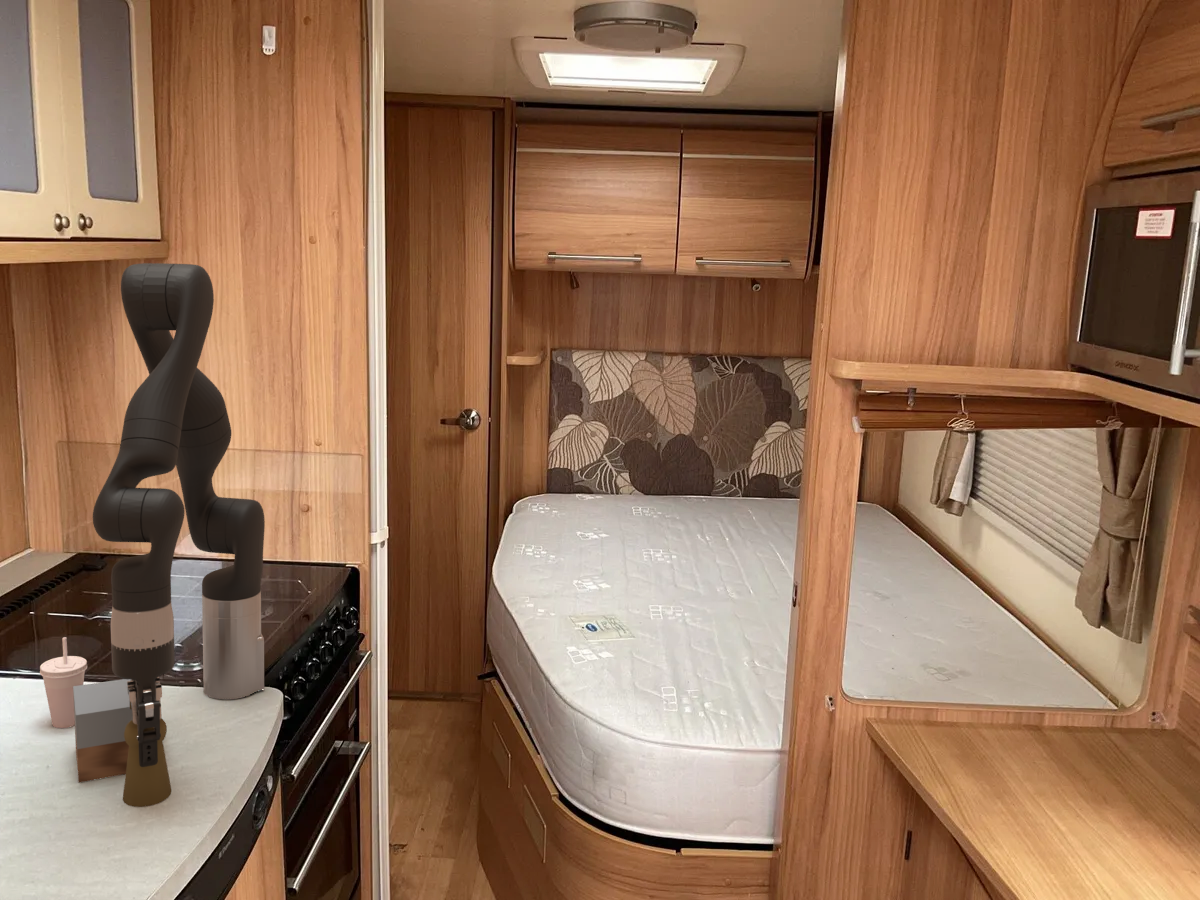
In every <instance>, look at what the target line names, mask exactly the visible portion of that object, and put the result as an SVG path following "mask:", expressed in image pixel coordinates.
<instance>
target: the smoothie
mask: <svg viewBox="0 0 1200 900" xmlns="http://www.w3.org/2000/svg"><path fill="white" fill-rule="evenodd" d="M67 639H68V638H67V637H65V636H64V637H62V639H61V640H62V656H58V657H53V658H51V659H49V660H46V661H44V662H43V663H41V665H40V666H39V670H40V671H39V674H40V675H41V676H42V678H43V679H42V680H43V684H44V688H45V694H46V699H47V704H48V708H49V714H50V719H51V720H50V721H51V724H52V726H53V727H54V728H57V729H67V728H70V727H71V728H72V727H75V718H74V694H73V686H79V685H84V681H85V672H86V670H87V669H88V664H87V663H88V661H87V659H86V658H84V657H82V656H78V655H77V656H76V655H68V644H67V643H68V642H67V641H68V640H67Z"/></svg>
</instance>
